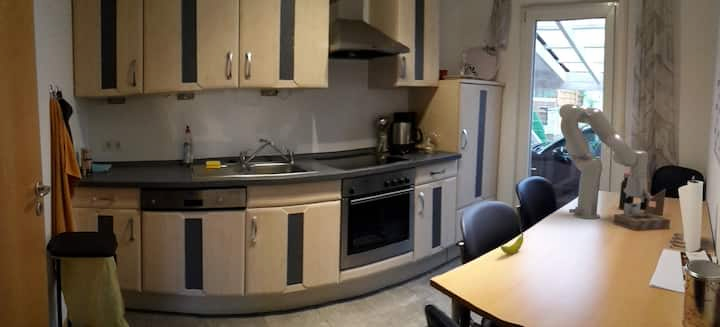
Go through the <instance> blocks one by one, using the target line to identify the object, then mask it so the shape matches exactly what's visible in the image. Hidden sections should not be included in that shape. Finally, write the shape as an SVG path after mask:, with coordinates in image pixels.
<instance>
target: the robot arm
mask: <svg viewBox="0 0 720 327" xmlns="http://www.w3.org/2000/svg"><path fill="white" fill-rule="evenodd" d="M558 114H559V116H560V118H561V120H560V131H561V134H562V136H563V138H564V140H565V142H566V143H565V149H566V151H567V154H568V156H569V158H570V159H571V161H572V162H573V164H574V165H575V167H576V168H577V169H578V170H579V171H580V172H581V173H580V177H579V182H578V183H579V184H578V193H577V194H578V197H577V206H575V208H570V209H568V212H569V214H570V213H571V214H573V216H575V217H577V218H579V219H580V218H581V219H588V220H597V219H600V218H601V215H600V214H599V213H598V206H599V196H600V195H599V191H600V182H601V176H602V172H603V162H602V161H601V159H600V158H598V157H597V156H595V155H592V154H591V153H590V151H591V146H590V142H588V140H587V138H586V137H585V136H584V134H583V132H582V131H581V129H580V127H579V123H580V124H586V125H587V124H588V125H589V127H590V128H591V129H592V131H593V132H594V134H596V136H597V138H598V140H599V141H600V142H601V143H603V144H604V145H606V146H607V147H608V148H610V149H611V151H612V152H614V153H613V155H612V159H613V161H614V162H615V164H618V165H621V166H624V167H627V168H628V167H629V173H630V176H629V177H628V180H627V186H626V188H625V189H624V194H625V196H626V203H632V198H631V197H634V198H637V199H640V203H641V204H640V210H646V205H647V202H648V200H650V199H651V198H652V195H651V192H650V193H648V192H647V180H648V179H647V170H648V169H647V168H648V155H649V154H648V152H647V151H645V150H633V149H632V148H631V146H630V145H629V144H628V142H627V141H626V140H625V139H624V138H623V137H622V136H621V135H620V134H619V133H618V131H617V130H616V129H615V128H614V126H613V125H612V124H611V122H610V121H609V119H608V118H607V116H606V115H605V113H604V112H603V111H602V110H601V109H600V108H596V107H585V106H580V105H577V104H572V103H566V104H565V103H564V104H563V105H562V106H561V107H559V111H558ZM643 198H644V199H643Z"/></svg>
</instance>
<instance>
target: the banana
mask: <svg viewBox="0 0 720 327" xmlns="http://www.w3.org/2000/svg"><path fill="white" fill-rule="evenodd" d="M524 235H525V234H524V233H522V234H521V235H519V236H518V238H517V239H516V241H515V242H514V243H513V244H511V245H508V246H506V245H501V246H500V250H501V251H502V252H503V253H504V254H507V255H511V254H516V253H517V252H519V250H520V249H521V247H522V246H523V243H524Z"/></svg>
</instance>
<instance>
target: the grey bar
mask: <svg viewBox="0 0 720 327" xmlns="http://www.w3.org/2000/svg"><path fill="white" fill-rule="evenodd" d="M640 204H641V202H638V201H637V202H633V203H624V210H623V213H622V214H635V213H644V210H640Z"/></svg>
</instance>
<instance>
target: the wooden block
mask: <svg viewBox="0 0 720 327" xmlns="http://www.w3.org/2000/svg"><path fill="white" fill-rule="evenodd" d="M651 185H652V180H650V179H647V192H648V193H650V194H651V188H652V186H651ZM666 190H667V189H666V188H664V189H662V190H661V191H660V192H658V193H657V194H655V195H653V196H651V197H650V199H649V200H648V202H647V205H646V210H644V213H650V214H653V215H656V216H660V217H663V215H664V208H665V197H666ZM643 199H644V198H643ZM650 202H655V206H652V205H651V206H650V205H649V204H650Z"/></svg>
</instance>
